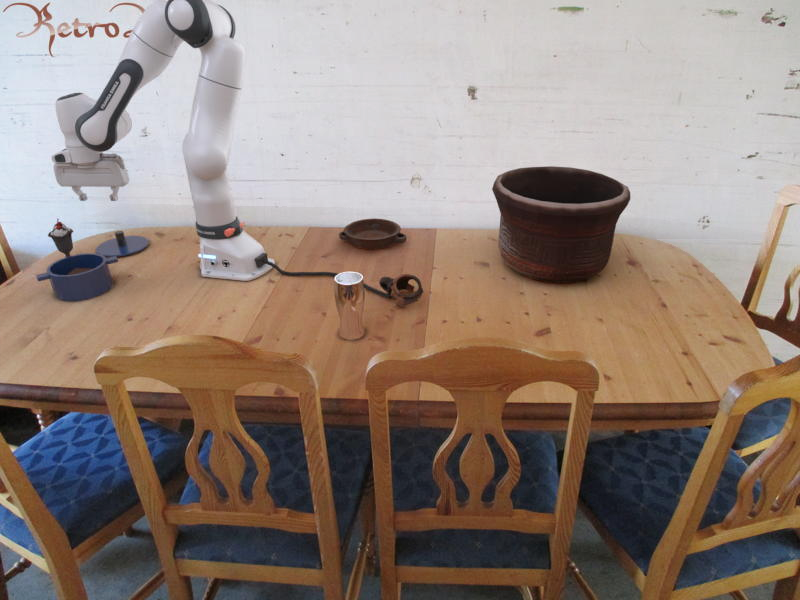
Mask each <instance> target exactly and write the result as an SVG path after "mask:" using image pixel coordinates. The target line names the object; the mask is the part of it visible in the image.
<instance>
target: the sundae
mask: <svg viewBox="0 0 800 600" xmlns="http://www.w3.org/2000/svg"><path fill="white" fill-rule="evenodd" d="M56 219H57V220H56V223H55V224H54V225H53V229H52V230H50V231H49V232H48V234H47V237H48V238H51V240H52V241H53V244H54V245H55V247H56V249H57V251H58V252H60V253H62V254H64V255H65V257H68V256H71V252H72V251H73V249H74V243H73V236H72V234H73V233H74V230H73V229H72V228H70V227H67V226H66V224H65V223H62V221H60V219H59V218H56Z"/></svg>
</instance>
